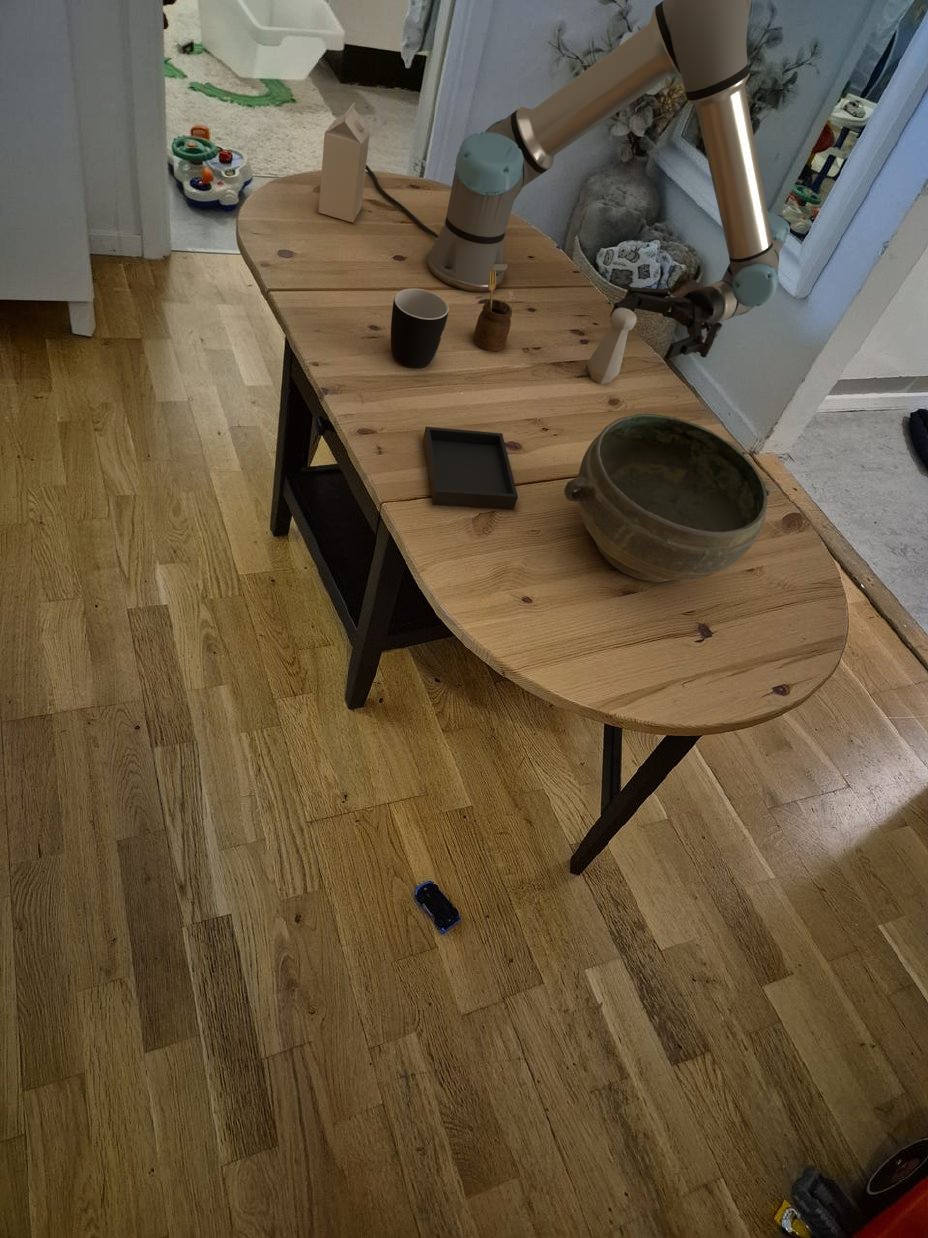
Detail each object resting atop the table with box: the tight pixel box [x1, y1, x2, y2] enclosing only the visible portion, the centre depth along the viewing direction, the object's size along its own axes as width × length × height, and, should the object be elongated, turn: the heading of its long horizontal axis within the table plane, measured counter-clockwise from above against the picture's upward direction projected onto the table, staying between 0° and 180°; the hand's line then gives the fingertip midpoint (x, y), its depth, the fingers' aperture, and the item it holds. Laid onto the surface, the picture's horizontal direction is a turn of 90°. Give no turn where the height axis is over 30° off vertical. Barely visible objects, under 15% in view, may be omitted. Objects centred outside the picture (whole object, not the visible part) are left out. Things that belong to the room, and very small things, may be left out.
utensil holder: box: [473, 270, 517, 352], centre depth 139 cm, size 6×6×12 cm
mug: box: [390, 287, 449, 369], centre depth 133 cm, size 12×9×10 cm
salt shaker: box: [588, 308, 638, 385], centre depth 140 cm, size 6×6×13 cm
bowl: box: [564, 413, 772, 583], centre depth 113 cm, size 32×26×15 cm
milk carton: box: [318, 102, 371, 223], centre depth 155 cm, size 7×7×19 cm
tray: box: [422, 426, 519, 511], centre depth 119 cm, size 14×12×3 cm
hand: (640, 331), depth 143 cm, fingers open, 13 cm apart
